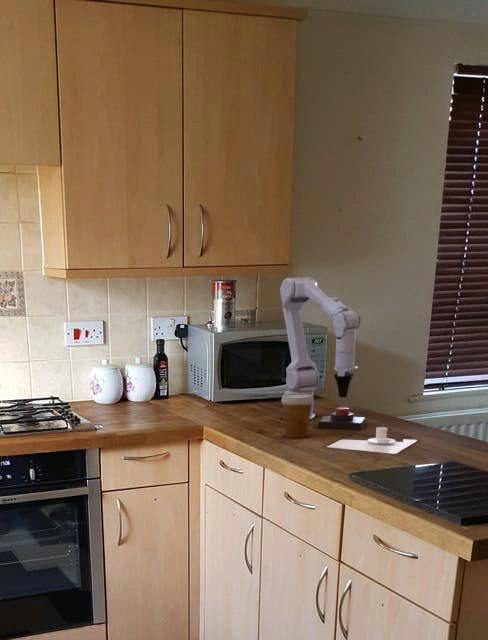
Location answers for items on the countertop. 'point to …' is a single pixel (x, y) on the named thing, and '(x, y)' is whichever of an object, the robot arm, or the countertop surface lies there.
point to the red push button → (342, 411)
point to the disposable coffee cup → (296, 414)
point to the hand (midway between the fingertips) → (343, 397)
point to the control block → (342, 422)
